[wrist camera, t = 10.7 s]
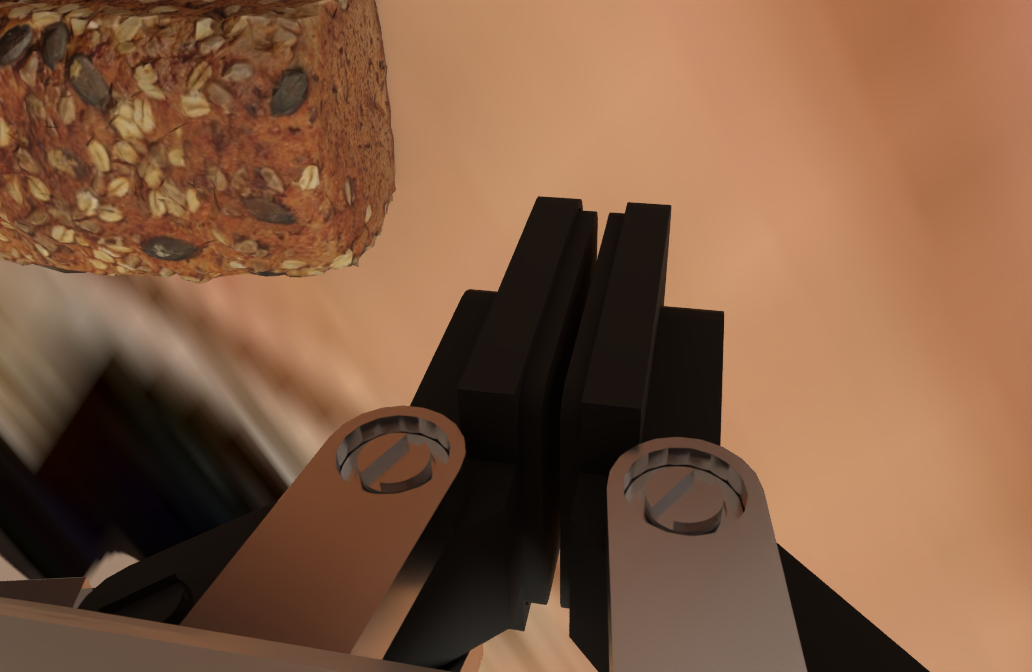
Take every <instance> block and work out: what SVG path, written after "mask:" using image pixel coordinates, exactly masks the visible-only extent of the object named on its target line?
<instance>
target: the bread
mask: <svg viewBox="0 0 1032 672" xmlns="http://www.w3.org/2000/svg"><path fill="white" fill-rule="evenodd" d="M386 73H387V66H386V62H385V56H384V48H383V41H382V34H381V27H380V22H379V17H378V12H377V7H376V2H375V0H0V259H4V260H7V261H11V262H14V263H17V264H20V265H22V266H24V265H30V264H35V265H39V266H42V267H46V268H49V269H53V270H56V271H60V272H63V273H86V272H91V273H93V274H99V275H111V276H114V275H115V274H118V275H128V274H134V275H140V276H147V275H149V274H151V275H155V276H160V277H165V278H168V277H170V276H172V275H174V274H176V273H177V274H178V275H179V276H180V277H181V278H182V279H183V280H184V281H189V282H194V283H199V284H200V283H206V282H207V281H209V280H211V279H212V278H216V277H221V276H229V275H241V274H255V275H261V276H280V275H286V276H289V277H306V276H314V275H322V274H324V273H325V272H326V271H327V270H329V269H331V268H332V269H335V270H337V269H341V268H345V267H350V266H352V265H355V266H357V267H359V264H358V260H359V258H360V257H361V255H362V254H363V253H364V252H365V251H366V250H368V249H370V248H372V247H373V246H374V244H375V240H376V239H377V238H378V237H379V236H380V235H381V231H382V226H383V222H384V218H385V214H387V210H388V206H389V205H390V204H391V202H392V201H393V198H392V194H393V193H394V192H395V191H396V188H395V182H394V179H395V160H394V138H393V134H392V129H391V110H390V104H389V98H388V92H387V83H386Z"/></svg>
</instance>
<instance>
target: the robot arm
mask: <svg viewBox="0 0 1032 672" xmlns="http://www.w3.org/2000/svg"><path fill="white" fill-rule="evenodd" d="M670 220H671V205H661V204H646V203H631V202H628V203H627V207H626V211H625V214H624V213H609V216H608V220H607V224H606V228H605V232H604V235H603V239H602V243H601V247H600V251H599V254H598V258H597V231H598V216H597V212H595V211H583V206H582V200H581V199H569V198H554V197H539V196H538V198H537V199H536V201H535V204H534V206H533V209H532V211H531V213H530V216H529V218H528V221H527V223H526V225H525V228H524V230H523V232H522V235H521V237H520V240H519V242H518V244H517V247H516V249H515V252H514V254H513V256H512V259H511V261H510V263H509V266H508V268H507V271H506V273H505V275H504V278H503V280H502V283H501V285H500V287H499V290H498V292H495V291H483V290H472V289H469V290H467V291H465V293H464V294H463V296H462V298H461V300H460V302H459V304H458V306H457V308H456V310H455V312H454V314H453V317H452V319H451V321H450V323H449V325H448V327H447V329H446V331H445V333H444V335H443V338H442V340H441V342H440V344H439V346H438V348H437V350H436V352H435V354H434V356H433V359H432V361H431V363H430V365H429V367H428V369H427V371H426V373H425V375H424V377H423V380H422V382H421V384H420V386H419V388H418V390H417V392H416V394H415V396H414V398H413V401H412V403H411V405H410V406H395V407H385V408H380V409H376V410H373V411H370V412H367V413H363V414H361V415H359V416H357V417H355V418H353V419H352V420H350V421H348V422H346V423H344V424H343V425H342V426H341V427H340V428H339V429H338V430H336V431H335V432H334V433H333V434H332V435H331V436H330V437H329V438H328V439H327V441H326V442H325V443H324V444H323V446H322V447H321V448H320V449H319V451H318V452H317V453H316V454H315V456H314V457H313V458H312V459H311V461H310V462H309V463H308V464H307V466H306V467H305V468H304V469H303V471H302V472H301V473H300V474H299V476H298V477H297V478H296V479H295V481H294V482H293V483H292V484H291V486H290V487H289V488H288V489H287V491H286V492H285V493H284V494H283V496H282V497H281V498H280V499H279V500H278V501H276V502H274V503H271V504H269V505H267V506H265V507H262V508H260V509H258V510H255V511H253V512H251V513H249V514H246V515H244V516H242V517H240V518H237V519H235V520H233V521H230V522H228V523H226V524H224V525H221V526H219V527H217V528H214V529H212V530H210V531H208V532H205V533H203V534H201V535H198V536H196V537H194V538H192V539H189V540H187V541H185V542H182V543H180V544H178V545H176V546H173V547H171V548H169V549H167V550H164V551H162V552H160V553H157V554H155V555H153V556H151V557H148V558H146V559H144V560H141V561H139V562H137V563H135V564H132V565H130V566H128V567H126V568H125V569H123V570H121V571H119V572H117V573H116V574H114V575H112V576H110V577H109V578H107V579H105V580H104V581H103V582H102V583H101V584H100V585H98V586H97V587H96V588H91V585H90V583H89V581H88V579H87V577H77V578H57V579H37V580H17V581H0V672H478V670H479V667H480V664H481V660H482V656H483V643H484V642H486V641H488V640H490V639H491V638H493V637H495V636H497V635H498V634H500V633H502V632H504V631H505V630H507V629H514V630H520V631H524V630H525V626H526V622H527V618H528V613H529V609H530V605H531V603H537V604H544V605H546V604H547V602H548V600H549V596H550V591H551V587H552V582H553V578H554V573H555V568H556V564H557V559H558V555H559V550H560V604H561V607H563V608H570V623H569V637H570V638H571V639H572V641H573V642H574V643H575V644H576V645H577V647H578V648H579V649H580V650H581V651H582V653H583V654H584V655H585V656H586V657H587V659H588V660H589V661H590V662H591V663H592V665H593V666H594V667H595V668H596V669H597V671H598V672H930V671H928V670H927V669H926V668H925V667H924V666H922V665H921V664H920V663H919V662H918V661H917V660H915V659H914V658H913V657H912V656H911V655H909V654H908V653H907V652H906V651H905V650H903V649H902V648H901V647H900V646H899V645H898V644H896V643H895V642H894V641H893V640H892V639H890V638H889V637H888V636H887V635H886V634H884V633H883V632H882V631H881V630H880V629H879V628H877V627H876V626H875V625H874V624H873V623H871V622H870V621H869V620H868V619H867V618H865V617H864V616H863V615H862V614H861V613H860V612H858V611H857V610H856V609H855V608H854V607H852V606H851V605H850V604H849V603H848V602H847V601H845V600H844V599H843V598H842V597H841V596H839V595H838V594H837V593H836V592H835V591H833V590H832V589H831V588H830V587H829V586H828V585H826V584H825V583H824V582H823V581H822V580H820V579H819V578H818V577H817V576H816V575H814V574H813V573H812V572H811V571H810V570H809V569H807V568H806V567H805V566H804V565H803V564H801V563H800V562H799V561H798V560H797V559H795V558H794V557H793V556H792V555H791V554H790V553H788V552H787V551H786V550H785V549H784V548H782V547H781V546H780V545H779V544H778V543H776V539H775V535H774V530H773V526H772V522H771V518H770V514H769V509H768V505H767V501H766V497H765V493H764V490H763V487H762V485H761V483H760V481H759V479H758V476H757V474H756V473H755V472H754V471H753V470H752V469H751V468H750V467H749V465H748V464H747V463H746V462H745V461H744V460H743V459H742V458H740V457H739V456H737V455H735V454H734V453H732V452H730V451H729V450H727V449H725V448H724V447H722V446H720V438H721V405H722V372H723V339H724V311H713V310H702V309H690V308H679V307H667V306H664V296H665V283H666V271H667V258H668V246H669V233H670Z"/></svg>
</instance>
